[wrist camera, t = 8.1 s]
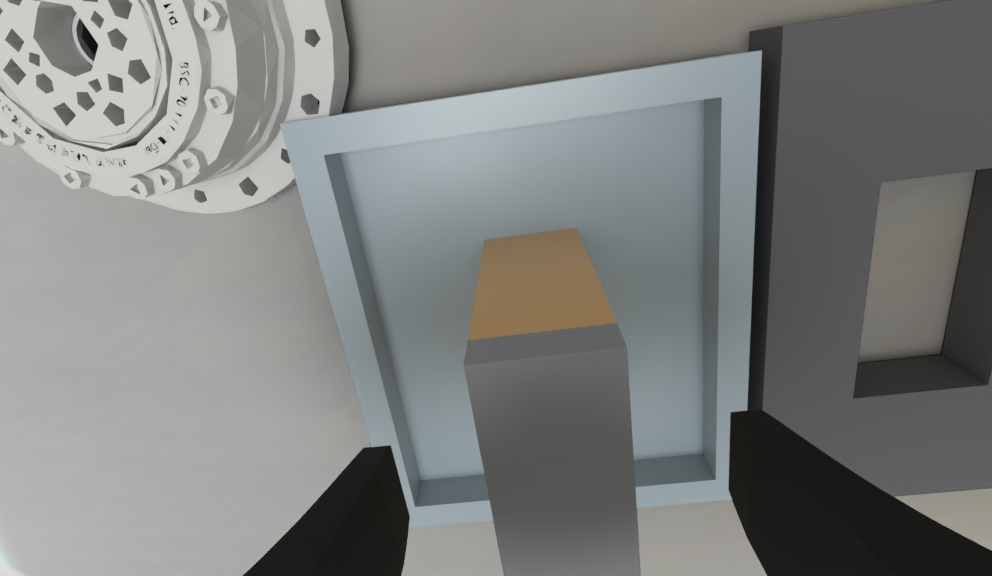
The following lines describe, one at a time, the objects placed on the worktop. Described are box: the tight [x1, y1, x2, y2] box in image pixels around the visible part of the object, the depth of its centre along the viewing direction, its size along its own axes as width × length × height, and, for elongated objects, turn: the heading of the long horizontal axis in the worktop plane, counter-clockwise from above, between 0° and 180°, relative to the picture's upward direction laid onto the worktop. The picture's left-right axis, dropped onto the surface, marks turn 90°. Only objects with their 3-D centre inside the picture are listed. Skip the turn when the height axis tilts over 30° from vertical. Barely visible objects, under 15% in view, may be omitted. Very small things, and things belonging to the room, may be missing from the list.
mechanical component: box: [0, 0, 349, 214], centre depth 14 cm, size 10×4×10 cm
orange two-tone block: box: [464, 228, 641, 576], centre depth 14 cm, size 3×6×8 cm, turn 8°
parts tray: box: [280, 50, 762, 528], centre depth 18 cm, size 13×15×2 cm
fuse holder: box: [747, 0, 992, 497], centre depth 17 cm, size 10×16×2 cm, turn 8°
